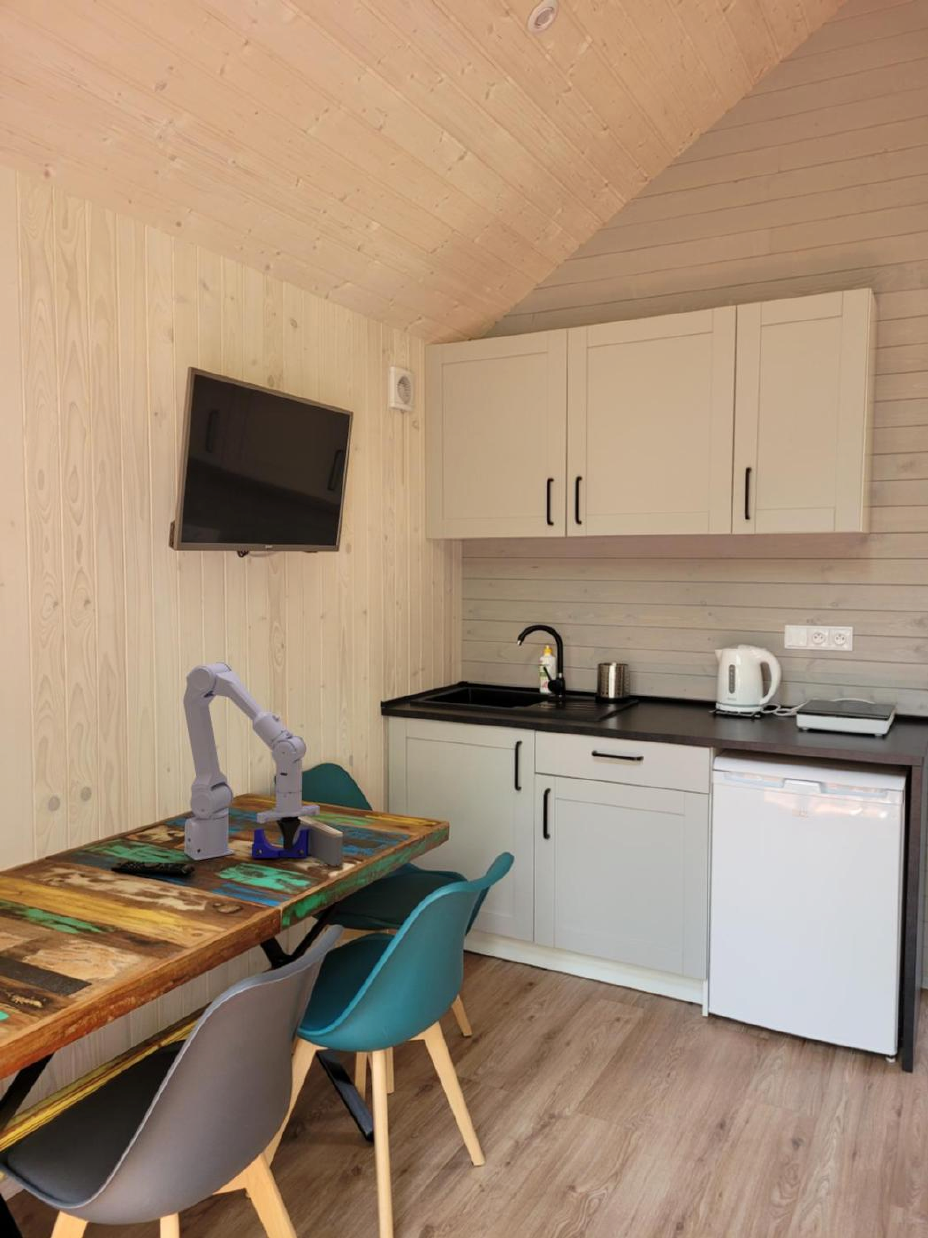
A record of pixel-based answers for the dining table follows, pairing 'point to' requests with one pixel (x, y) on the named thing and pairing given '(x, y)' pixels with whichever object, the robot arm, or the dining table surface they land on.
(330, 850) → the wall board
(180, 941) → the dining table surface
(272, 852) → the blue half-round bracket
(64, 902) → the dining table surface
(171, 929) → the dining table surface
